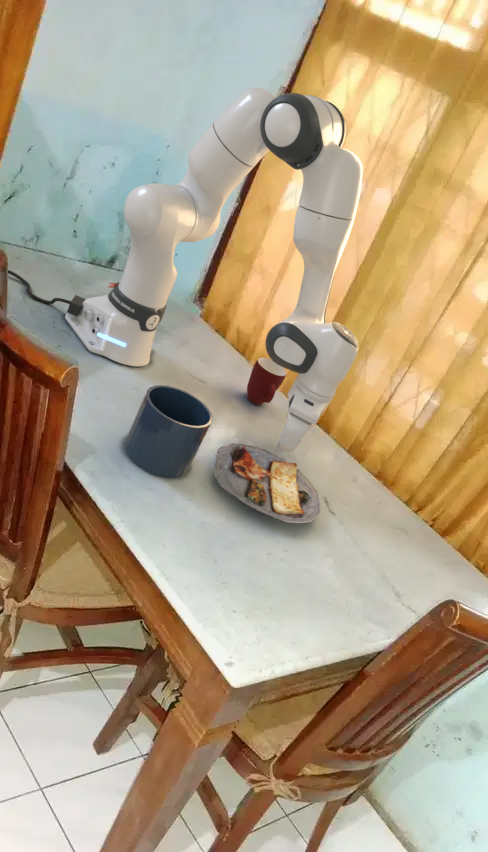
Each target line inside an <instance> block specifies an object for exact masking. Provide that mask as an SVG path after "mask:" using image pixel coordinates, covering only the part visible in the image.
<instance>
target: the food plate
mask: <svg viewBox="0 0 488 852" xmlns="http://www.w3.org/2000/svg"><path fill="white" fill-rule="evenodd" d="M297 467H298V464H297V462H296V463H295V462H289V461H286V460H285V459H283V458H282V457H279V456H278V455H276V454H274V453H271V452H270V451H268V450H266V449H264V448H260V447H257V446H254V445H249V444H241V443H235V442H234V443H229V444H227V445H223V446H221V447H219V448H218V449H217V450H216V456H215V464H214V472H213V475H214V477H215V479H216V481H217V482H218V483H219V485H220V486H221V488H222V489H223V490H224V491H227V493H229V494H231V495H233V496H234V497H235V498H237V499H238V500H239V501H241V502H242V503H243V504H245V505H246V506H248V507H250V508H252V509H253V510H255V511H257V512H261V513H263V514H264V515H266V516H269V517H271V518H274V519H276V520H280V521H282V522H285V523H290V524H305V523H311V522H313V521H315V520H316V519H317V518H318V517H319V516H320V513H321V505H320V499H319V494H318V491H317V489H316V487H315V486H314V484H313V483H312V482H311V481H310V479H309V478H307V477H306V475H304V474H303V473H302V472H301V470H300V469H298V468H297Z"/></svg>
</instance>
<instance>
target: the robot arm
mask: <svg viewBox="0 0 488 852" xmlns="http://www.w3.org/2000/svg"><path fill="white" fill-rule="evenodd" d="M346 137H347V124H346V120H345V117H344V115H343V113H342V112H341V110H340V109H339V108H338V107H337V106H336V105H335V104H333V103H332V102H330V101H328V100H324V99H322V98H321V97H318V96H315V95H312V94H301V93H298V92H287V93H283V94H280V95H278V96H277V97H276V96H274V95H273V94H272V93H271V92H269V91H268V90H266V89H264V88H262V87H250V88H248V89H247V90H246V91H244V92H243V93H241V94H240V95H239V96H238V97H237V98H235V99H234V100H233V101H232V102H230V104H229V105H228V106H226V108H225V109H224V110H223V111H222V112H221V113H220V114H219V115H218V116H217V118H215V120H214V121H213V122H212V124H211V125H210V126H209V127H208V129H206V131H205V132H204V133H203V135H202V136H201V137H200V138H199V139H198V141H197V142H196V143H195V144H194V145H193V147H192V148H191V149H190V151H189V153H188V155H187V156H188V157H187V158H188V159H187V160H188V169H187V171H186V173H185V174H184V176H183V178H182V179H181V180H180V182H178V183H176V184H174V185H172V184H166V183H158V182H153V183H148V184H143V185H139V186H136V187H135V188H133V189H132V190H131V191H130V192H129V193H128V195H127V197H126V199H125V202H124V206H123V215H124V220H125V223H126V225H127V227H128V229H129V231H130V247H129V253H128V257H127V261H126V263H125V266H124V269H123V271H122V275H121V278H120V280H119V282H109V283H108V284H110V285H108V286H107V288H112V289H111V290H110V292H109V293H108V294H102V295H96V296H92V297H91V296H90V297H87V298H84V297H81V296H79V295H77V294H75V295H74V296H73V298H72V299H71V300H69V299H66V298H62V297H54V298H53V299H51V300H46V299H43V298H41V297H39V296H37V295H36V294H34V293H33V292H32V291H31V285H30V283H29V282H28V281H27V280H26V279H25V278H23V277H22V276H21V275H19V274H18V273H16V272H14V271H12V270H10V269H7V270H8V273H7V274H9V275H11V276H13V277H15V278H16V279H18V280H19V281H20V282H21V283H23V284H24V285H25V286H26V289H25V290H26V291H25V292H26V294H27V295H28V296H30V297H31V298H33V299H34V300H36V301H38V302H40V303H43V304H47V305H54V304H55V303H56V302H61V303H65V304H67V305H68V308H67V311H66V313H65V316H64V319H65V320H66V321H67V323H68V324H69V326H70V327H71V329H72V330H73V331H74V333H75V334H76V335H77V336H78V338H79V339H80V341H81V342H82V344H83V345H84V346H85V347H86V348H87V350H88V351H89V352H91V353H93V354H96V355H99V356H103V357H105V358H108V359H109V360H112V361H114V362H116V363H119V364H121V365H125V366H129V367H136V368H137V367H144V366H147V365H148V364H149V363H150V361H151V354H152V350H153V343H154V339H155V336H156V332H157V329H158V327H159V325H160V323H161V321H162V319H163V317H164V314H165V312H166V309H167V305H166V304H167V302H168V299H169V297H170V295H171V293H172V290H173V287H174V285H175V283H176V281H177V277H178V271H177V268H176V265H175V264H174V257H175V251H176V247H177V246H178V245H179V243H197V242H199V241H200V242H201V241H202V240H205V239H207V238H210V237H211V236H213V235H214V234H215V233H216V231H217V230H218V228H219V226H220V222H221V212H222V209H223V207H224V205H225V203H226V201H227V200H228V198H229V196H231V194H232V192H233V191H234V190H235V189H236V188H237V187H238V186H239V185H240V184H241V182H242V181H243V180H244V179H245V178H246V177H247V175H248V174H249V173H250V172H251V171H252V170H253V169H254V168H255V167H256V166H257V164H259V162H260V161H261V159H262V158H263V157H264V156H265V155H266V154H267V153H268V152H271V153H272V155H274V156H276V157H277V158H278V159H280V160H281V161H283V162H284V163H286V164H287V165H288V166H289V167H291V168H292V169H293V170H297V171H298V170H300V171H301V173H302V178H303V179H302V181H303V182H302V188H301V192H300V197H299V201H298V205H297V207H296V213H295V217H294V225H293V236H292V237H293V238H292V239H293V243H294V246H295V248H296V249H297V251H298V252H299V254H300V255H301V257H302V261H303V265H304V266H303V275H302V280H301V284H300V290H299V293H298V299H297V303H296V306H295V307H294V309H293V311H292V312H291V313H290V315H288V316H287V318H285V319H283V320H281V321H280V322H278V323H276V324H275V325H273V326H272V327H271V328H270V329H269V331H268V332H267V335H266V337H265V350H266V353H267V355H268V357H269V359H270V360H272V361H273V362H274V363H276V364H278V365H279V366H282V367H283V368H284V369H285V370H289V371H291V372H293V373H297V375H296V377H295V379H294V380H293V383H292V384H291V386H290V388H289V390H288V391H287V398H288V407H287V413H286V416H285V418H284V423H283V426H282V428H281V431H280V434H279V437H278V440H277V442H276V447H275V449H276V450H277V451H279V452H281V453H283V452H284V451H286V452H288V453H292V452H293V451H295V449H296V448H297V447H298V445H299V444H300V443H301V441H302V440H303V439H304V437H305V436H306V435H307V433H308V432H309V430H310V429H311V427H312V425H313V426H315V425H317V422H318V421H319V420H320V418H321V416H323V415H324V414H325V412H326V410H327V408H328V407H329V405H330V403H331V402H332V400H333V399H334V397H335V395H336V393H337V389H338V386H339V385H340V384H341V382H343V381H344V380H345V378H346V376H347V375H348V373H349V371H350V370H351V367H352V366H353V364H354V362H355V360H356V358H357V355H358V352H359V341H358V339H357V337H356V335H355V334H354V333H353V331H352V330H351V329H349V328H348V327H347V326H345V325H343V324H342V323H340V322H337V321H332V322H327V309H328V303H329V299H330V294H331V290H332V286H333V281H334V278H335V273H336V269H337V267H338V264H339V262H340V260H341V257H342V255H343V252H344V249H345V247H346V245H347V243H348V241H349V237H350V235H351V231H352V228H353V226H354V222H355V218H356V215H357V210H358V206H359V201H360V197H361V196H360V195H361V190H362V183H363V172H364V169H363V168H364V167H363V164H362V161H361V160H360V158H359V157H358V156H357V155H356V154H355V153H353V151H350V150H349V149H346V148H344V147H343V145H344V143H345V140H346Z"/></svg>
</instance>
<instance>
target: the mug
mask: <svg viewBox="0 0 488 852" xmlns="http://www.w3.org/2000/svg"><path fill="white" fill-rule="evenodd" d="M287 375H288V373H287V369H286V368H284V367H282V366H279V365H278V364H276V363H274V362H273V361H272V360H271V358H268V357H262V356H261V357H257V360H256V361H255V363H254V364H253V367H252V369H251V373H250V376H249V378H248V382H247V385H246V397H247V400H248V401H249V402H250V403H252V404H254V405H256V406H258V405H259V406H261V405H262V404H264V403H266V404H268V403H271V402H272V401H273V399H274V397H275V394H276V392H277V391H278V389H279V388H280V387H281V385H282V384H283V382H284V381H285V379H286V377H287Z"/></svg>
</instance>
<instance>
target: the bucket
mask: <svg viewBox="0 0 488 852" xmlns="http://www.w3.org/2000/svg"><path fill="white" fill-rule="evenodd" d="M213 419H214V417H213V415H212V412H211V410H210V409H209V407H208V406H207V405H206V404H205V403H204V402H203V401H202V400H200V399H199V398H198V397H196V396H195V395H193V394H192V393H189V392H187V391H186V390H183V389H180V388H178V387H174V386H171V385H164V384H157V385H153V386H150V387H149V388H148V389H147V390H146V392H145V394H144V396H143V399H142V401H141V403H140V405H139V408H138V410H137V413H136V414H135V417H134V420H133V422H132V424H131V427H130V429H129V431H128V433H127V435H126V438H125V441H124V445H123V448H124V452H125V454H126V456H127V457H128V458H129V459H130V460H131V462H132V463H133V464H135V465H136V466H137V467H138V468H140V469H142V471H143V470H144V471H145V472H147V473H149V474H152V475H154V476H157V477H159V478H166V479H177V478H180V477H181V478H182V477H184V475H186V474H187V473H188V471H189V469H190V467H191V465H192V463H193V461H194V459H195V458H196V456H197V453H198V451H199V449H200V447H201V446H202V443H203V441H204V439H205V437H206V435H207V433H208V431H209V429H210V427H211V425H212V423H213Z"/></svg>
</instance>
